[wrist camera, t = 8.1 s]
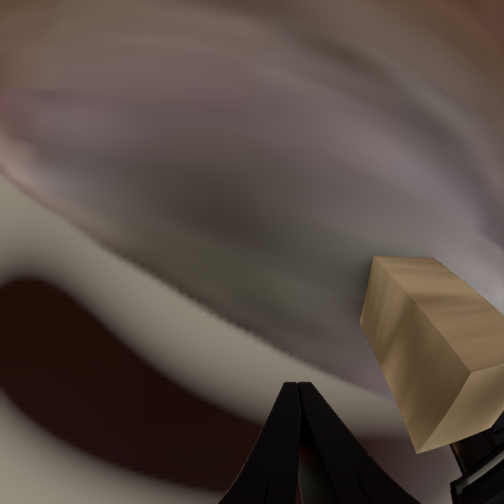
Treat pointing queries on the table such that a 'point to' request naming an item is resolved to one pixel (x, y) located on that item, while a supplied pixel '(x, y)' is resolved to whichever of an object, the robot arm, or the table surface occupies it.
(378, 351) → the oak block
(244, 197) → the table surface
